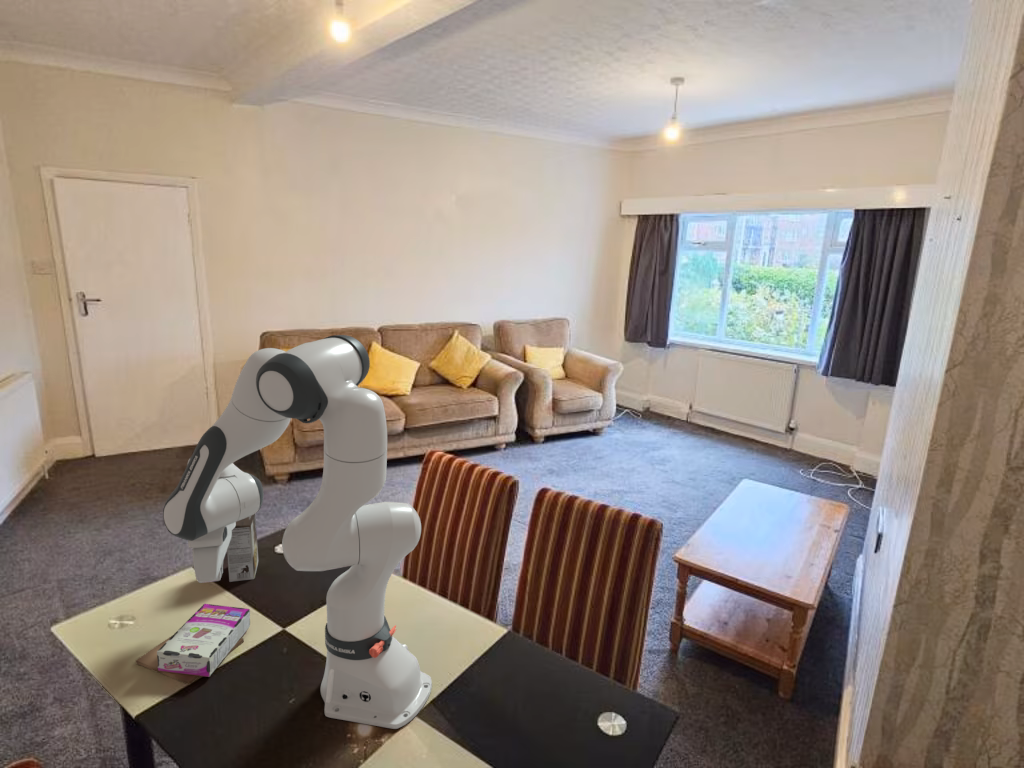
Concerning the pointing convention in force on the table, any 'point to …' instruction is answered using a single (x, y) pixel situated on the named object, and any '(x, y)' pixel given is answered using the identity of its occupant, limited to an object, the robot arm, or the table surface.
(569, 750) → the table surface
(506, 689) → the table surface
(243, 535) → the coffee box
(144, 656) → the board
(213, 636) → the candy bar box
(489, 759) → the table surface
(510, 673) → the table surface
